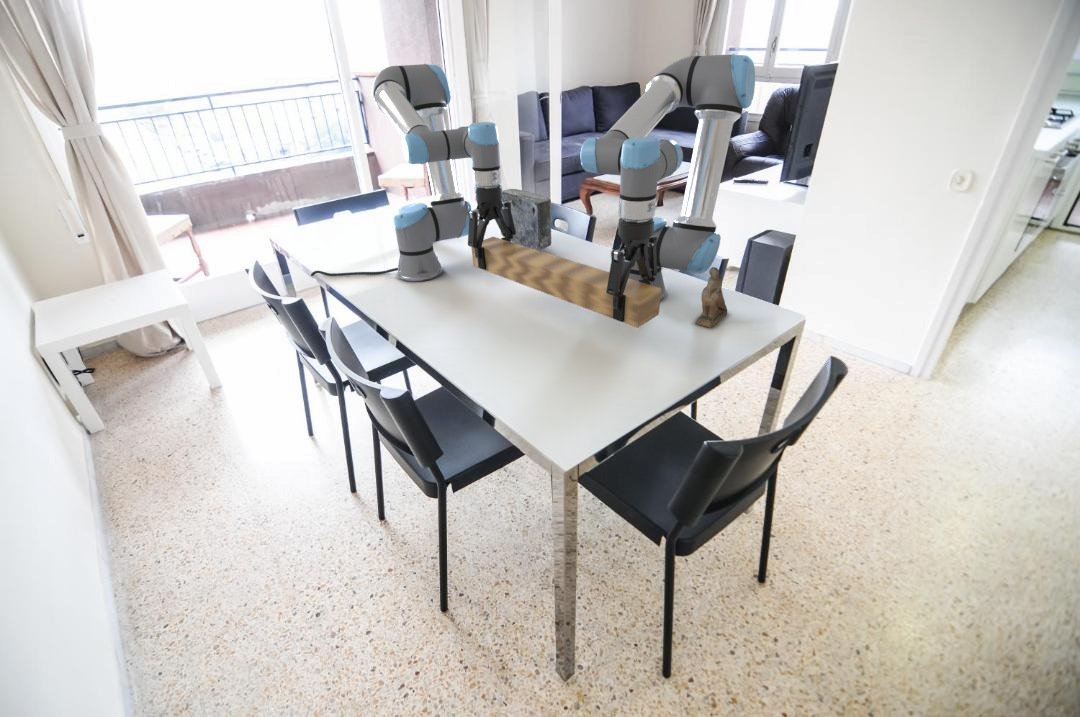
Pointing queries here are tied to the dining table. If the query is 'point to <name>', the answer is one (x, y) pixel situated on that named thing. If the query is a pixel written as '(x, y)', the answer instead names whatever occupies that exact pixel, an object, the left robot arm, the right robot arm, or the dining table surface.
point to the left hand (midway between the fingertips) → (494, 263)
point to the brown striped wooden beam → (568, 280)
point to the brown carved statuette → (712, 301)
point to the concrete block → (529, 218)
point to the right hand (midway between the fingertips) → (630, 312)
